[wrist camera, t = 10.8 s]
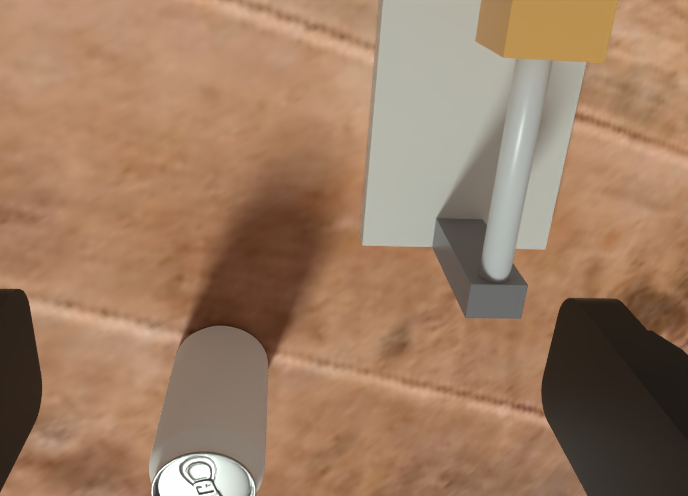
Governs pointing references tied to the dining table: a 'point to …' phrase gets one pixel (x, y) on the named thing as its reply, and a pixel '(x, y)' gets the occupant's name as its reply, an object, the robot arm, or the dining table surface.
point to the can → (213, 417)
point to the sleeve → (547, 29)
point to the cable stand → (464, 149)
